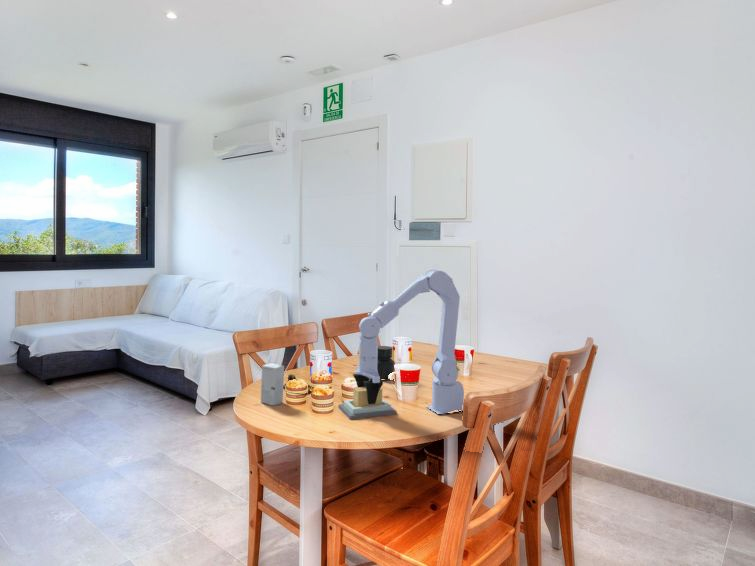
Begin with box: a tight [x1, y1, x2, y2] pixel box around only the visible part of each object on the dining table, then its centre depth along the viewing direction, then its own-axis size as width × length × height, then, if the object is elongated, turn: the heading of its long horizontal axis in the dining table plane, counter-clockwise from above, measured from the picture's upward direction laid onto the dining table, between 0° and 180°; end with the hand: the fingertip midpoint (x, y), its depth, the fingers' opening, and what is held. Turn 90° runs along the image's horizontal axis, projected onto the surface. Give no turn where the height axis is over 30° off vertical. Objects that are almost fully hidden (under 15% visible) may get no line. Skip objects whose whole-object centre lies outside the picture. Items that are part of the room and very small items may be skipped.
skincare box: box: [260, 362, 285, 406], centre depth 152 cm, size 6×4×12 cm
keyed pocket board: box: [337, 398, 397, 420], centre depth 147 cm, size 15×11×2 cm
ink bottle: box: [377, 345, 396, 379], centre depth 186 cm, size 10×9×12 cm
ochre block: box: [352, 387, 383, 407], centre depth 147 cm, size 4×8×6 cm, turn 113°
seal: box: [283, 373, 312, 394], centre depth 169 cm, size 9×5×15 cm
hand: (367, 399), depth 147 cm, fingers open, 7 cm apart
